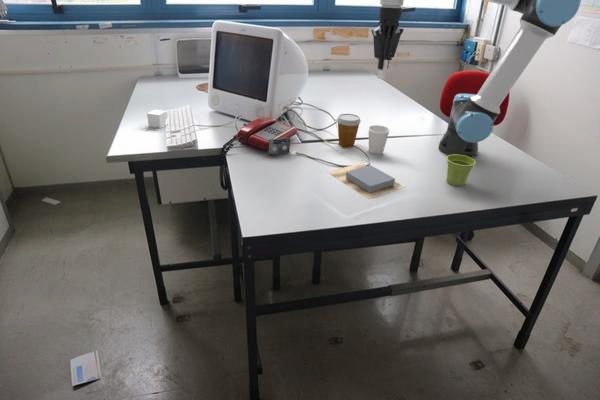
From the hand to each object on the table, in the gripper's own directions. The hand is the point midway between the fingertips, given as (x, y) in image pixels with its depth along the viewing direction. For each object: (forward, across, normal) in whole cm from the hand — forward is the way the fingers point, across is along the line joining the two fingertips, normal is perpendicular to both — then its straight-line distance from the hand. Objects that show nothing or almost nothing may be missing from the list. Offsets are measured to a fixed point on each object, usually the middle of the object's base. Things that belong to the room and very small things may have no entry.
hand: (381, 78), depth 147 cm
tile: (+27, +19, +13) cm, 36 cm away
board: (+29, +19, +17) cm, 39 cm away
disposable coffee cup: (+30, +3, -12) cm, 32 cm away
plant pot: (+30, -9, +33) cm, 45 cm away
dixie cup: (+30, -2, 0) cm, 30 cm away
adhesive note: (+30, +62, -70) cm, 99 cm away
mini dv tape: (+30, +32, -18) cm, 47 cm away
